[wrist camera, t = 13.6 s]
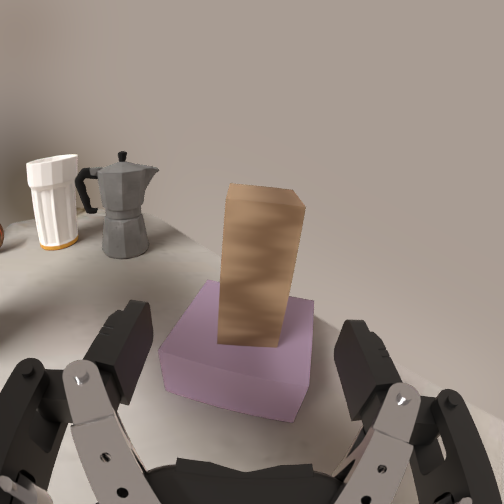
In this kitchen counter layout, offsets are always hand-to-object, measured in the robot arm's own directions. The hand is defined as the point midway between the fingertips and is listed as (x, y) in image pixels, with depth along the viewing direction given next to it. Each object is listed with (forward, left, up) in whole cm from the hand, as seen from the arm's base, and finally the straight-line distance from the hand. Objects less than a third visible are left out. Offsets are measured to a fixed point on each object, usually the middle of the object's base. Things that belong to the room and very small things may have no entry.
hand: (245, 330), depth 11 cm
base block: (-3, +11, -15) cm, 19 cm away
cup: (-49, +20, -15) cm, 54 cm away
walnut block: (-3, +10, -9) cm, 14 cm away
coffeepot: (-34, +25, -15) cm, 44 cm away
